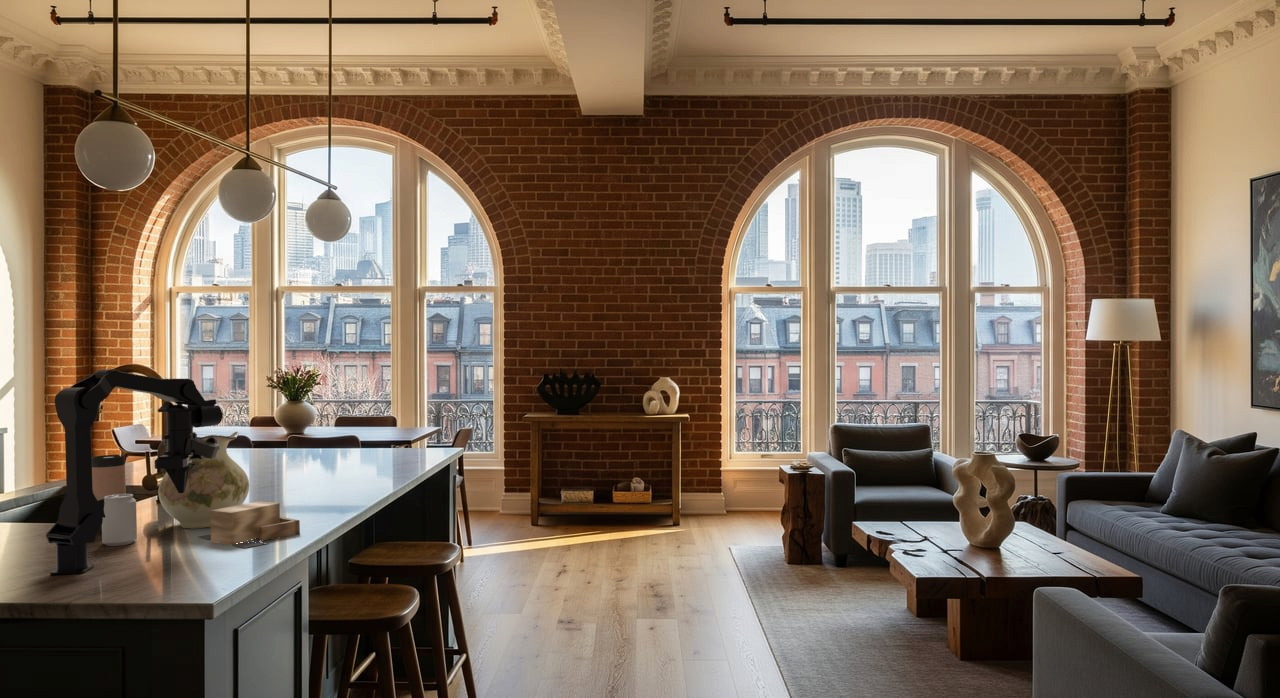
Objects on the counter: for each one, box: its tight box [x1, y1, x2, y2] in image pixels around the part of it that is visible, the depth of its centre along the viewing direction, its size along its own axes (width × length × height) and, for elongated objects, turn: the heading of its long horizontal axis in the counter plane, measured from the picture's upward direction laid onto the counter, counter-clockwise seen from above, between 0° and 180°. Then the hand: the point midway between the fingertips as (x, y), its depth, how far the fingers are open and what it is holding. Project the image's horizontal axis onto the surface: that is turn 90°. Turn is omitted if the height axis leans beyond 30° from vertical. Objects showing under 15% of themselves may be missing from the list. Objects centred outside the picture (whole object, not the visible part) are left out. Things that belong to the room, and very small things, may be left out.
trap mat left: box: [197, 533, 211, 541], centre depth 224 cm, size 6×6×1 cm
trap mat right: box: [231, 539, 267, 549], centre depth 214 cm, size 6×6×1 cm
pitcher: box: [156, 431, 250, 529], centre depth 241 cm, size 22×24×25 cm
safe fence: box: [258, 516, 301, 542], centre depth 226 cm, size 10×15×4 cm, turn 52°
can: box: [101, 493, 138, 547], centre depth 218 cm, size 8×8×12 cm
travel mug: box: [92, 454, 127, 535], centre depth 233 cm, size 8×8×20 cm
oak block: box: [210, 500, 281, 546], centre depth 222 cm, size 14×8×8 cm, turn 152°
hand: (181, 492), depth 216 cm, fingers closed
